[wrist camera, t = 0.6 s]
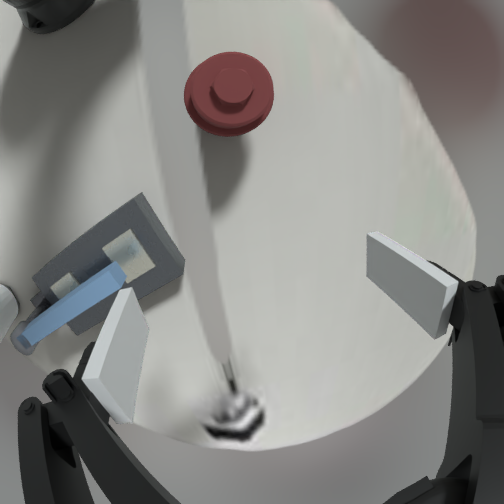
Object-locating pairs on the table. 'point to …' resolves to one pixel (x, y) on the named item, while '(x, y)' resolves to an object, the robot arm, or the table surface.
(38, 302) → the pivot post
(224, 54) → the mechanical component
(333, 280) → the table surface
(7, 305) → the cup
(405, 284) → the robot arm
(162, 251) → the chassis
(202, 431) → the table surface
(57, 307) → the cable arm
